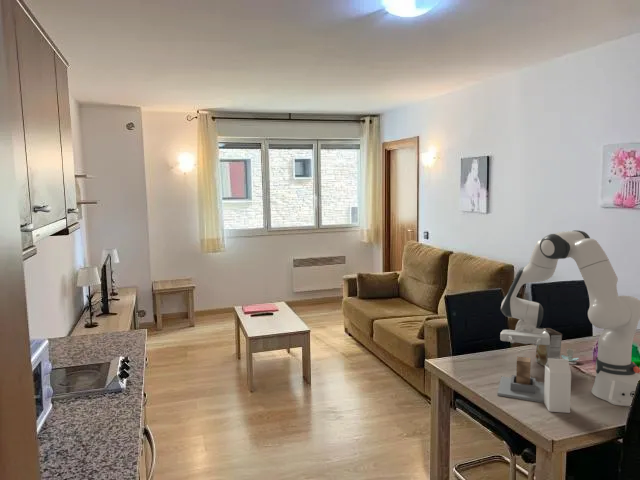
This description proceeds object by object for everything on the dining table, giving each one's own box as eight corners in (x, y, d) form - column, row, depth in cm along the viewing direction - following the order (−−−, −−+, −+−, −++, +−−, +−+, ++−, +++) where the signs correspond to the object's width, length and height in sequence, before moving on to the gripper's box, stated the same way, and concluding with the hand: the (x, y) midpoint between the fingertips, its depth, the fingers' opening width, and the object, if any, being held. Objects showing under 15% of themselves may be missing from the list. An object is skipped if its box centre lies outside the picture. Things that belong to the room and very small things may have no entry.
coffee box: (534, 361, 220) (537, 327, 218) (546, 360, 221) (549, 327, 220) (547, 368, 211) (550, 333, 209) (560, 367, 212) (562, 333, 211)
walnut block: (530, 386, 191) (530, 358, 190) (529, 391, 187) (530, 362, 186) (516, 384, 193) (517, 356, 192) (516, 389, 189) (516, 360, 188)
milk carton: (570, 413, 170) (571, 363, 168) (549, 411, 172) (550, 362, 170) (564, 404, 177) (565, 356, 175) (543, 403, 178) (545, 355, 176)
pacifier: (576, 366, 214) (579, 361, 219) (576, 353, 214) (579, 349, 218) (558, 362, 219) (562, 358, 224) (559, 349, 218) (562, 346, 223)
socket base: (547, 385, 194) (547, 375, 194) (547, 403, 178) (547, 393, 178) (501, 378, 202) (501, 369, 202) (497, 395, 186) (497, 385, 186)
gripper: (500, 324, 218) (498, 333, 206) (549, 328, 210) (550, 337, 197) (501, 338, 219) (498, 347, 207) (549, 342, 210) (550, 352, 198)
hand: (524, 342), depth 202 cm, fingers open, 8 cm apart
